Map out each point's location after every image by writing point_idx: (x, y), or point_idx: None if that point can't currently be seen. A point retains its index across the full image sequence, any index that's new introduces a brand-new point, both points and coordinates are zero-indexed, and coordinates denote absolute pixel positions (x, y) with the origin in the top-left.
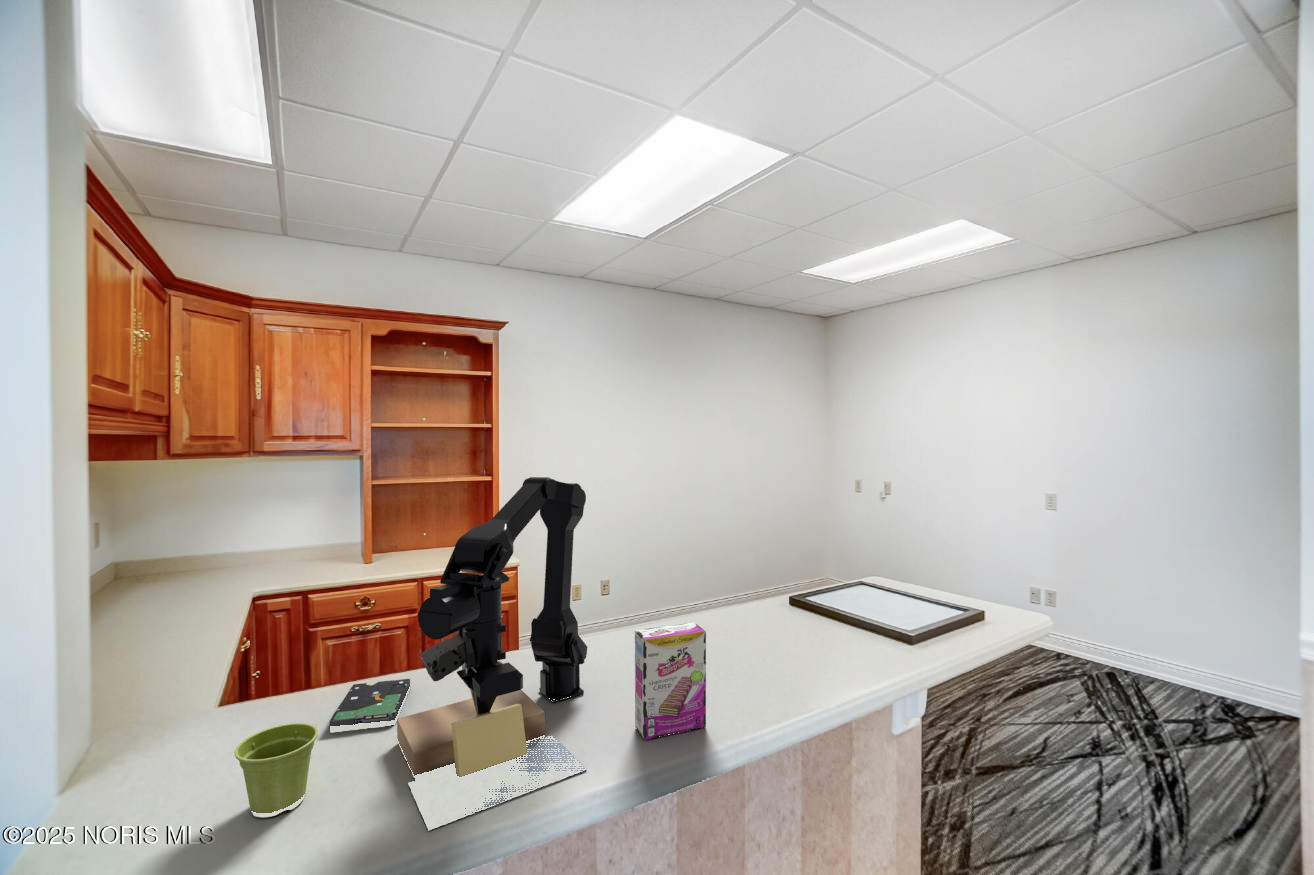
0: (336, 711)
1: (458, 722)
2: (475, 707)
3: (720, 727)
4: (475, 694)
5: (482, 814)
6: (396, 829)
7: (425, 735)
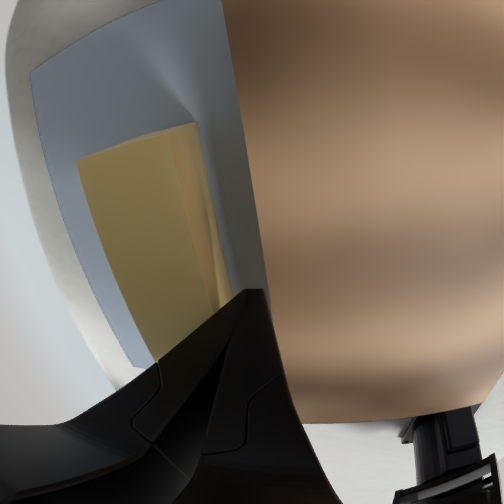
0: None
1: (106, 184)
2: (252, 328)
3: None
4: (110, 413)
5: (47, 174)
6: (62, 7)
7: (371, 15)
